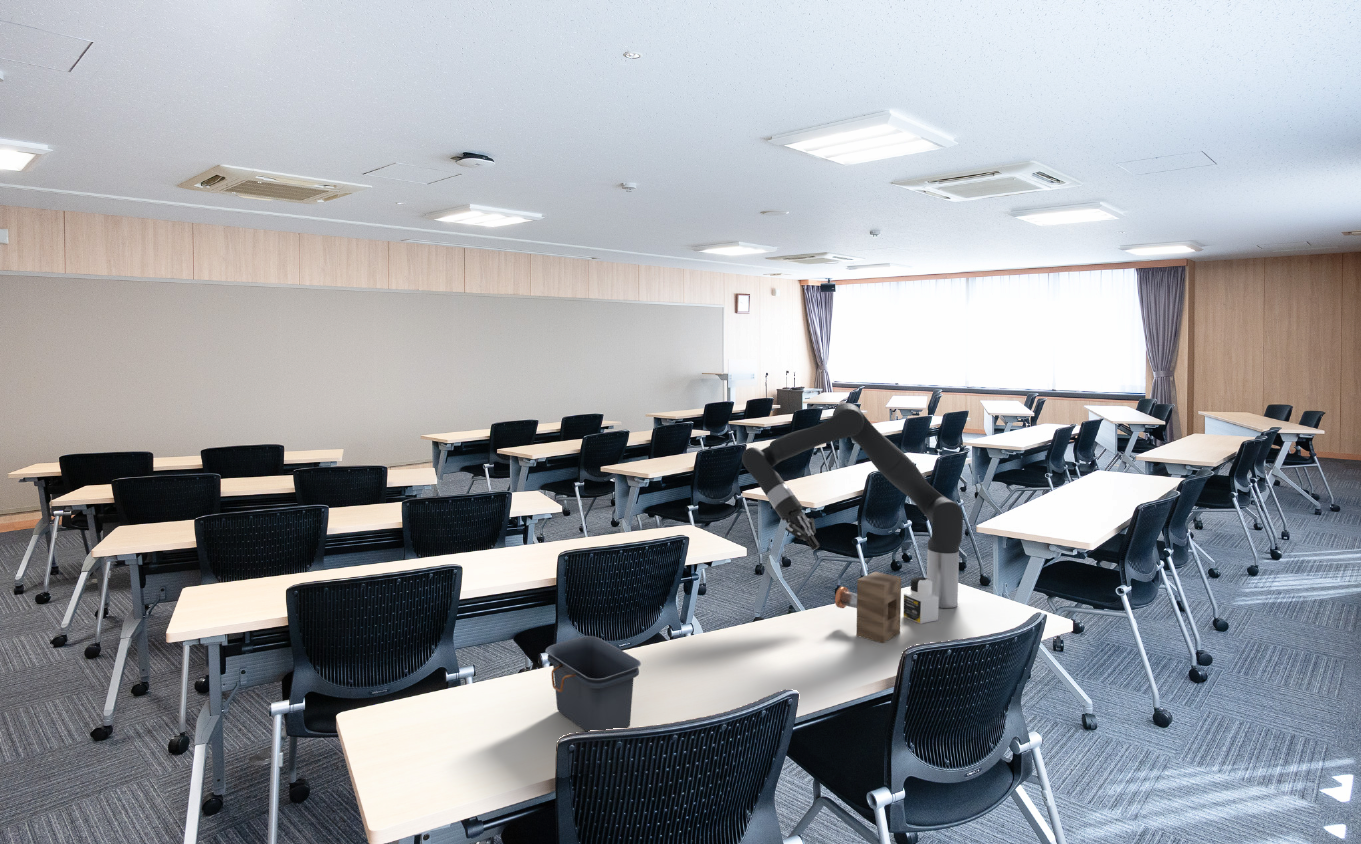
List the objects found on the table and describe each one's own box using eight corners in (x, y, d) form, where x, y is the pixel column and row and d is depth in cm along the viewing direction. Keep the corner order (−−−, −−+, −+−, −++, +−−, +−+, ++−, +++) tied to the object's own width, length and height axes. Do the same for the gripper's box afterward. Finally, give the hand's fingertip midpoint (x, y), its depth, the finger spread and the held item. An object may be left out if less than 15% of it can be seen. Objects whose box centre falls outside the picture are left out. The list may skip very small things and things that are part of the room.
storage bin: (648, 728, 156) (648, 662, 154) (585, 753, 146) (584, 683, 145) (592, 693, 172) (591, 633, 171) (532, 714, 162) (531, 650, 161)
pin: (845, 604, 218) (845, 584, 218) (887, 615, 209) (887, 594, 209) (834, 609, 214) (835, 589, 213) (876, 620, 205) (877, 599, 204)
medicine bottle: (902, 616, 222) (903, 577, 221) (921, 613, 225) (922, 574, 224) (919, 624, 216) (920, 583, 215) (938, 620, 219) (939, 580, 218)
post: (874, 626, 214) (875, 571, 213) (900, 633, 209) (901, 577, 208) (856, 635, 207) (857, 579, 206) (882, 643, 202) (883, 585, 200)
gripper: (778, 497, 223) (812, 544, 216) (803, 491, 232) (836, 537, 225) (764, 511, 227) (796, 559, 220) (789, 506, 237) (820, 551, 229)
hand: (816, 548), depth 222 cm, fingers closed
